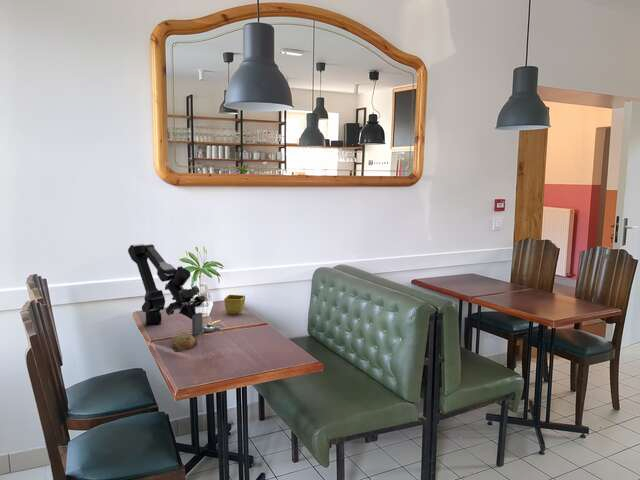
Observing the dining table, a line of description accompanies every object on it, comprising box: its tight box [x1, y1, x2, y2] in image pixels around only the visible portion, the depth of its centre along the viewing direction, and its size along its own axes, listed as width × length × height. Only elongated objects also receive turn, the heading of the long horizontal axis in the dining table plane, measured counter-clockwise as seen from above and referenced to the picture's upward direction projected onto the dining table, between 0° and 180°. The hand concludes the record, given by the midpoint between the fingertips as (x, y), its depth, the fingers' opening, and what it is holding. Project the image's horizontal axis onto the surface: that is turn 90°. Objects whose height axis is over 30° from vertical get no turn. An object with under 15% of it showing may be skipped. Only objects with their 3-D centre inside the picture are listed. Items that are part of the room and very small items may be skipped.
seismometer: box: [191, 312, 222, 337], centre depth 223 cm, size 19×9×9 cm, turn 156°
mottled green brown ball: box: [171, 333, 198, 353], centre depth 203 cm, size 10×10×8 cm
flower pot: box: [223, 294, 246, 315], centre depth 252 cm, size 9×9×9 cm
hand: (196, 320), depth 217 cm, fingers closed, pressing on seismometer
